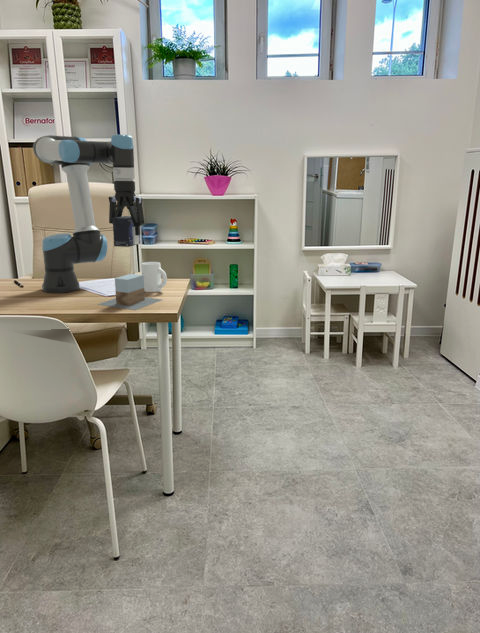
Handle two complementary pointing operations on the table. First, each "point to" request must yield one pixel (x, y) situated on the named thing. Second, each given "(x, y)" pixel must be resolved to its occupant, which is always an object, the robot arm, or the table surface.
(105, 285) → the table surface
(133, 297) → the block bottom
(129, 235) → the small box
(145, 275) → the mug
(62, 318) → the table surface
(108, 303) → the mat
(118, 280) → the block top
